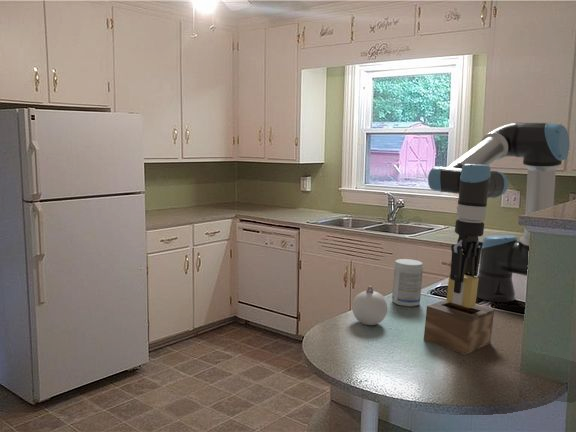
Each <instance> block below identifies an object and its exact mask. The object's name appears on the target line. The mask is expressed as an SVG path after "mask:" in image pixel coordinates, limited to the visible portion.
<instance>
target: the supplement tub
mask: <svg viewBox="0 0 576 432" xmlns="http://www.w3.org/2000/svg"><path fill="white" fill-rule="evenodd" d="M392 282H393V283H392V296H391V300H392V302H393V304H394V305H395V304H396V305H397V306H402V307H416V306H419V305H420V304H421V296H422V295H421V294H422V282H423V262H422V261H419V260H416V259H410V258H409V259H408V258H400V259H396V260H394V268H393V281H392Z"/></svg>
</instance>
